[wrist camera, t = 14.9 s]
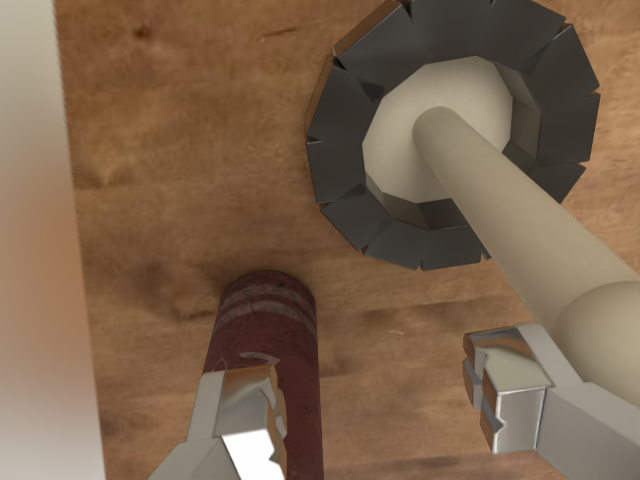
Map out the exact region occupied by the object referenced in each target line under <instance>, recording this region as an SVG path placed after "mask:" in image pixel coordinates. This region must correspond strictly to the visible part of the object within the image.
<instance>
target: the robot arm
mask: <svg viewBox="0 0 640 480" xmlns="http://www.w3.org/2000/svg"><path fill="white" fill-rule="evenodd" d="M463 348H464V351H465V353H466V355H467V357H466V358H465V360H464V361H463V377H464V383H465V387H466V391H467V394H468V397H469V399H470V402H471V404H472V406H473V407H474V408H476V409H477V410H478V411H480V412H481V417H480V426H481V428H482V430H483V433H484V435H485V437H486V440H487V442H488V444H489V447H490V449H491V451H492V454H502V453H510V452H519V451H528V450H536V449H537V450H536V452H537V453H538V454H539V455H541V456H542V457H543V458H544V459H545V460H546V461H548V462H549V463H550V464H551V465H552V466H553V467H555V468H556V469H557V470H558V471H559V472H560V473H562V474H563V475H564V476H565V477H566V478H567V479H569V480H640V408H639V407H637V406H635V405H633V404H632V403H630V402H628V401H626V400H624V399H622V398H621V397H619V396H617V395H615V394H613V393H611V392H610V391H608V390H606V389H604V388H602V387H601V386H599V385H597V384H595V383H593V382H585V383H584V382H583V381H582V379H581V378H580V377H579V375H578V374H577V372H576V371H575V370H574V368H573V367H572V366H571V364H570V363H569V361H568V360H567V359H566V357H565V356H564V355H563V353H562V352H561V350H560V349H559V348H558V346H557V345H556V344H555V342H554V341H553V339H552V338H551V337H550V335H549V334H548V333H547V331H546V330H545V328H544V327H543V326H542V325H541V324H540V323H538V322H532V323H526V324H520V325H514V326H507V327H501V328H495V329H489V330H483V331H477V332H471V333H465V334H464V337H463ZM286 435H287V415H286V405H285V400H284V396H283V392H282V389H280V388H279V387H277V372H276V370H275V367H274V365H273V364H267V365H259V366H251V367H243V368H235V369H228V370H223V371H216V372H208V373H204V374H203V375H202V377H201V378H200V380H199V385H198V389H197V393H196V398H195V402H194V407H193V411H192V415H191V420H190V424H189V428H188V433H187V437H186V441H185V442H183V443H178V444H177V445H176V446H175V448H174V449H173V450H172V451H171V452H170V453H169V455H168V456H167V457H166V458H165V459H164V460H163V462H162V463H161V464H160V465H159V466H158V467H157V469H156V470H155V471H154V472H153V473H152V474H151V475H150V477H149V478H148V479H147V480H287V452H286V449H285V446H284V442H283V439H284V438H285V436H286Z"/></svg>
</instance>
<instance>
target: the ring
mask: <svg viewBox="0 0 640 480" xmlns="http://www.w3.org/2000/svg"><path fill="white" fill-rule="evenodd" d="M565 20H566V18H565V16H562V15H560V14H558V13H556V12H554V11H552V10H550V9H548V8H546V7H544V6H542V5H540V4H538V3H536V2H534V1H532V0H395V1H391V0H386V1H385V2H384V3H383V4H381V5H380V6H379V7H378V8H377V9H376V10H375V11H373V12H372V13H371V14H370V15H369V16H368V17H367V18H365V19H364V20H363V21H362V22H361V23H360V24H359V25H357V26H356V27H355V28H354V29H353V30H352V31H350V32H349V33H348V34H347V35H346V36H345V37H344V38H342V39H341V40H340V41H339V42H338V43H337V44H336V45H334V47H333V49H334V51H335V53H336V55H337V57H336V56H333V55H331V54H328V55H327V58H326V61H325V64H324V66H323V69H322V72H321V74H320V77H319V80H318V83H317V85H316V88H315V91H314V94H313V96H312V99H311V102H310V105H309V107H308V110H307V113H306V123H305V141H306V149H307V155H308V160H309V166H310V171H311V177H312V182H313V188H314V194H315V199H316V203H317V204H319V205H320V211H321V212H322V213H323V214H324V216H325V217H326V218H327V219H328V220H329V221H330V222H331V223H332V224H333V225H334V226H335V227H336V229H337V230H338V231H339V232H340V233H341V234H342V235H343V236H344V237H345V238H346V239H347V240H348V242H349V243H350V244H351V245H352V246H353V247H354V248H355V249H356V250H357V251H359V250H360V249H362V252H363V254H364V255H366V256H370V257H373V258H376V259H379V260H383V261H386V262H389V263H392V264H396V265H399V266H402V267H405V268H409V269H412V270H416V269H417V268H418V266H419V265H420V267H421V269H422V271H427V270H433V269H440V268H447V267H453V266H460V265H467V264H473V263H479V262H480V259H481V253H482V255H483V256H484V257H485V259H486V260H488V259H490V258H492V257H491V255H490V254H489V252H488V251H487V250H486V248H485V247H484V245H483V244H482V242H481V241H480V239H479V238H478V236H477V235H476V233H475V232H474V230H473V229H472V227H471V226H470V224H469V223H468V222H467V220H466V219H465V217H464V216H463V214H462V213H461V211H460V210H459V208H458V207H457V205H456V204H455V202H454V201H453V199H452V198H448V199H441V200H435V201H429V202H422V203H413V202H411V201H408V200H405V199H402V198H399V197H396V196H393V195H390V194H388V193H385V192H382V191H381V189H380V188H379V187H378V186H377V184H376V183H375V182H374V181H373V179H372V178H371V177H370V176H369V175H368V173H367V172H366V171H365V165H364V156H363V147H362V143H363V141H364V139H365V137H366V134H367V132H368V130H369V128H370V125H371V123H372V121H373V119H374V116H375V114H376V112H377V110H378V107H379V105H380V103H381V101H382V98H384V97H385V96H386V95H387V94H389V93H390V92H391V91H392V90H394V89H395V88H396V87H397V86H399V85H400V84H401V83H402V82H404V81H405V80H406V79H408V78H409V77H410V76H411V75H413V74H414V73H415V72H416V71H418V70H419V69H420V68H421V67H423V66H424V65H426V64H432V63H438V62H443V61H449V60H455V59H461V58H467V57H473V56H478V57H480V58H482V59H485V60H487V61H489V62H491V63H494V65H495V67H496V69H497V71H498V72H499V74H500V76H501V78H502V79H503V81H504V83H505V85H506V87H507V88H508V90H509V92H510V94H511V96H512V97H513V105H512V119H511V133H510V140H509V141H508V143H507V144H506V146H505V148H504V149H503V151H502V154H503V155H504V156H506V157H507V158H508V159H509V160H510V161H511V162H512V163H513V164H515V165H516V166H517V167H518V168H519V169H520V170H521V171H523V172H524V173H525V174H526V175H527V176H528V177H529V178H530V179H532V180H533V181H534V182H535V183H536V184H537V185H538V186H539V187H541V188H542V189H543V190H544V191H545V192H546V193H547V194H549V195H550V196H551V197H552V198H553V199H554V200H555V201H556V202H558V203H559V204H561V202H562V201H563V200H564V198H565V197H566V195H567V194H568V193H569V191H570V190H571V189H572V187H573V186H574V184H575V183H576V182H577V180H578V179H579V178H580V176H581V175H582V174H583V172H584V171H585V169H586V167H584V166H583V165H581V164H580V162H586V161H589V160H590V154H591V148H592V143H593V137H594V131H595V125H596V119H597V114H598V108H599V102H600V96H601V95H600V94H599V93H597V92H594V90H595V89H597V88H598V87H599V86H600V85H599V82H598V80H597V78H596V76H595V73H594V71H593V69H592V67H591V65H590V62H589V60H588V58H587V56H586V53H585V51H584V49H583V47H582V44H581V42H580V40H579V38H578V35H577V33H576V31H575V29H574V26H573V25H572V24H570V23H564V21H565Z"/></svg>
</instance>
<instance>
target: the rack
mask: <svg viewBox="0 0 640 480" xmlns="http://www.w3.org/2000/svg"><path fill="white" fill-rule="evenodd" d="M333 47H334V46H332V50H333V56H336V57H337V55H336V53H335V51H334V49H333ZM512 105H513V97H512V96H511V94H510V92H509V90H508V88H507V87H506V85H505V83H504V81H503V79H502V78H501V76H500V74H499V72H498V71H497V69H496V67H495V65H494V63H491V62H489V61H487V60H485V59H482V58H480V57H478V56H473V57H467V58H461V59H455V60H449V61H443V62H438V63H432V64H426V65H424V66H423V67H421V68H420V69H419V70H418V71H416V72H415V73H414V74H413V75H411V76H410V77H409V78H408V79H406V80H405V81H404V82H402V83H401V84H400V85H399V86H397V87H396V88H395V89H394V90H392V91H391V92H390V93H389V94H387V95H386V96H385V97H384V98H382V101H381V103H380V105H379V107H378V110H377V112H376V114H375V116H374V119H373V121H372V123H371V125H370V128H369V130H368V132H367V134H366V137H365V139H364V141H363V143H362V147H363V156H364V165H365V171H366V172H367V173H368V175H369V176H370V177H371V178H372V179H373V181H374V182H375V183H376V184H377V186H378V187H379V188H380V189H381V191H382V192H385V193H388V194H390V195H393V196H396V197H399V198H402V199H405V200H408V201H411V202H413V203H422V202H429V201H435V200H441V199H448V198H452V199H453V201H454V202H455V204H456V205H457V207H458V208H459V210H460V211H461V213H462V214H463V216H464V217H465V219H466V220H467V222H468V223H469V224H470V226H471V227H472V229H473V230H474V232H475V233H476V235H477V236H478V238H479V239H480V241H481V242H482V244H483V245H484V247H485V248H486V250H487V251H488V252H489V254H490V255H491V257H492V258H493V260H494V261H495V263H496V264H497V266H498V267H499V269H500V270H501V272H502V273H503V275H504V276H505V277H506V279H507V280H508V282H509V283H510V285H511V286H512V288H513V289H514V291H515V292H516V294H517V295H518V297H519V298H520V300H521V301H522V303H523V304H524V305H525V307H526V308H527V310H528V311H529V313H530V314H531V316H532V317H533V319H534V320H535V322H538V323H540V324H541V325H542V326H543V327H544V328H545V330H546V331H547V333H548V334H549V335H550V337H551V338H552V339H553V341H554V342H555V344H556V345H557V346H558V348H559V349H560V350H561V352H562V353H563V355H564V356H565V357H566V359H567V360H568V361H569V363H570V364H571V366H572V367H573V368H574V370H575V371H576V372H577V374H578V375H579V377H580V378H581V379H582V381H583V382H584V383H585V382H593V383H595V384H597V385H599V386H601V387H602V388H604V389H606V390H608V391H610V392H611V393H613V394H615V395H617V396H619V397H621V398H622V399H624V400H626V401H628V402H630V403H632V404H633V405H635V406H637V407H639V408H640V275H639V274H638V273H637V272H636V271H634V270H633V269H632V268H631V267H630V266H629V265H628V264H627V263H625V262H624V261H623V260H622V259H621V258H620V257H619V256H618V255H616V254H615V253H614V252H613V251H612V250H611V249H610V248H608V247H607V246H606V245H605V244H604V243H603V242H602V241H601V240H599V239H598V238H597V237H596V236H595V235H594V234H593V233H591V232H590V231H589V230H588V229H587V228H586V227H585V226H584V225H582V224H581V223H580V222H579V221H578V220H577V219H576V218H575V217H573V216H572V215H571V214H570V213H569V212H568V211H567V210H565V209H564V208H563V207H562V206H561V205H560V204H559V203H558V202H556V201H555V200H554V199H553V198H552V197H551V196H550V195H549V194H547V193H546V192H545V191H544V190H543V189H542V188H541V187H539V186H538V185H537V184H536V183H535V182H534V181H533V180H532V179H530V178H529V177H528V176H527V175H526V174H525V173H524V172H523V171H521V170H520V169H519V168H518V167H517V166H516V165H515V164H513V163H512V162H511V161H510V160H509V159H508V158H507V157H506V156H504V155H503V154H502V151H503V149H504V148H505V146H506V144H507V143H508V141H509V140H510V133H511V119H512Z"/></svg>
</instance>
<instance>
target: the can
mask: <svg viewBox="0 0 640 480" xmlns="http://www.w3.org/2000/svg"><path fill="white" fill-rule="evenodd" d="M267 364H273V365H274V367H275V370H276V372H277V387H279V388H280V389H282V392H283V396H284V400H285V405H286V415H287V435H286V436H285V438H284V439H283V442H284V446H285V449H286V452H287V480H324V471H323V449H322V428H321V406H320V385H319V363H318V342H317V320H316V307H315V300H314V298H313V296H312V294H311V293H310V291H309V289H308V288H307V287H305V286H304V285H303V284H302V283H301V282H300V281H299V280H297V279H296V278H294V277H292V276H289V275H287V274H285V273H283V272H277V271H271V270H266V271H255V272H253V273H250V274H247V275H245V276H242V277H240V278H238V279H237V280H235V281H234V282H233V283H232V284H230V285H229V286H228V287H227V289H226V290H225V292H224V293H223V295H222V297H221V300H220V304H219V308H218V312H217V316H216V320H215V324H214V328H213V332H212V337H211V341H210V345H209V349H208V353H207V357H206V361H205V365H204V369H203V373H202V375H203V374H204V373H208V372H216V371H223V370H228V369H235V368H243V367H251V366H259V365H267Z"/></svg>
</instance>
